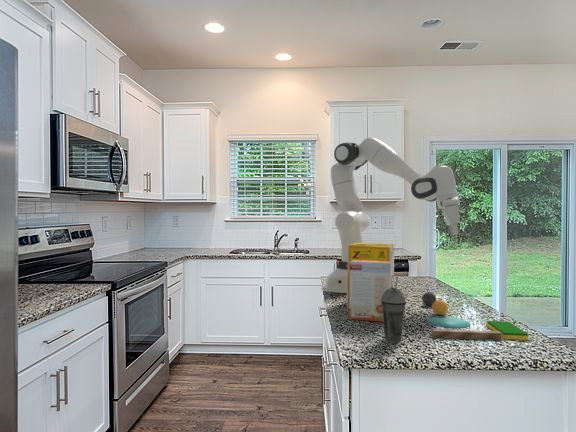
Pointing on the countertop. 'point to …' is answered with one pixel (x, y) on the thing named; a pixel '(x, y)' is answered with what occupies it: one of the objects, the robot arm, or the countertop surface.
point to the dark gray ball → (428, 298)
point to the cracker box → (368, 288)
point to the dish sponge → (507, 330)
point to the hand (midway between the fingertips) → (454, 235)
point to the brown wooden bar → (466, 334)
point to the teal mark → (448, 322)
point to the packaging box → (370, 258)
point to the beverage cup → (393, 313)
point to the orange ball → (440, 307)
